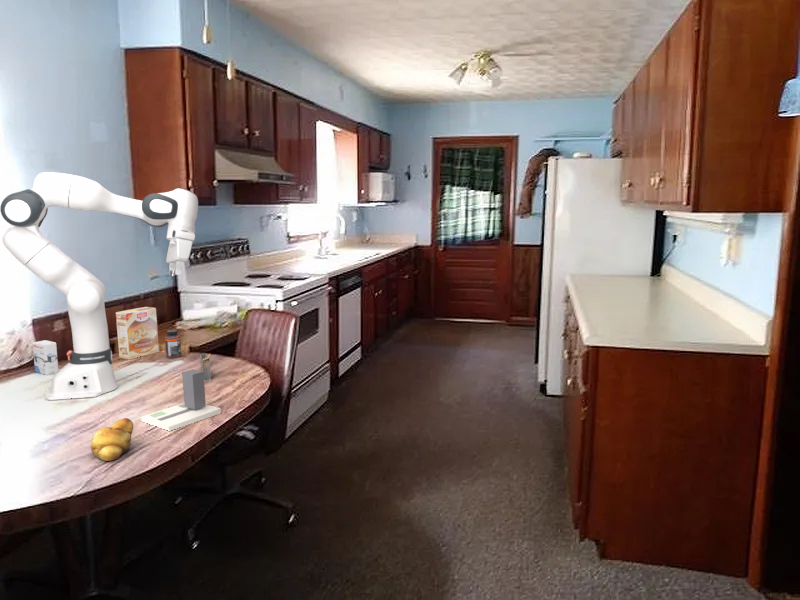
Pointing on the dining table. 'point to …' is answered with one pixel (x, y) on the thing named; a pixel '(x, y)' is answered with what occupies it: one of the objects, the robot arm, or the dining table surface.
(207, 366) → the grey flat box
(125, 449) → the bread roll
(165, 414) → the switch panel
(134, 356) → the coffeecake box
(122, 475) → the dining table surface
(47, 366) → the ink box
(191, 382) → the switch tab
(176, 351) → the supplement bottle
